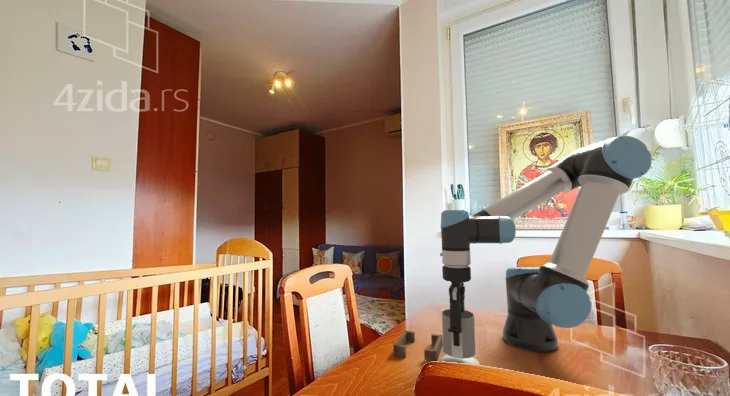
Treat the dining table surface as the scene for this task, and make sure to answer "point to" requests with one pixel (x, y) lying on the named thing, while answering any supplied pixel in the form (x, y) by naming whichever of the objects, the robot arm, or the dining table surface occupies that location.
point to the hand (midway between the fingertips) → (459, 349)
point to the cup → (467, 333)
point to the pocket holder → (410, 337)
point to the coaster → (459, 360)
